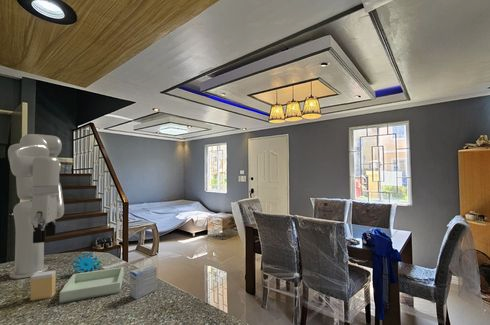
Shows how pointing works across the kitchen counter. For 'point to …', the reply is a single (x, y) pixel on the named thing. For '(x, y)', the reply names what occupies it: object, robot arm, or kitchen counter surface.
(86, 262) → the gear
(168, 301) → the kitchen counter surface
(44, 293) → the tan and white block
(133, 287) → the medicine box
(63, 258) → the kitchen counter surface
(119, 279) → the parts tray
